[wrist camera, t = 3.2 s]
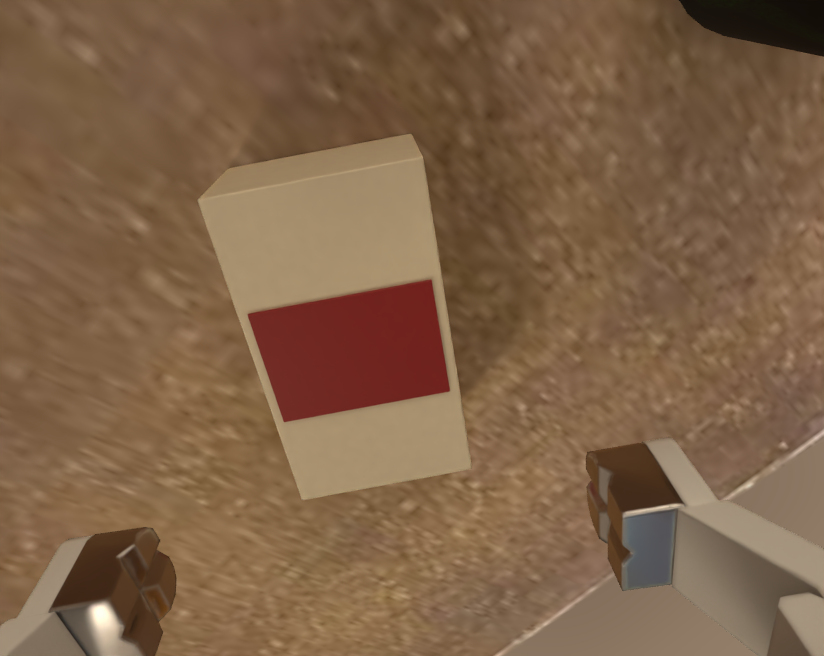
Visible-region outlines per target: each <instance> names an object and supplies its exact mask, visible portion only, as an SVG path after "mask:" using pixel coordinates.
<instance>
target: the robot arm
mask: <svg viewBox="0 0 824 656" xmlns="http://www.w3.org/2000/svg"><path fill="white" fill-rule="evenodd" d="M586 470H587V472H588V474H589V476H590V478H591V481H590V483H589V484H588V485H587V501H588V506H589V511H590V516H591V519H592V522H593V525H594V528H595V530H596V533H597V535H598V537H599V539H601V540H602V541H604V542H605V543H607V544H608V560H609V562H610V565H611V567H612V569H613V571H614V573H615V576H616V578H617V580H618V582H619V585H620V587H621V589H622V591H626V590H633V589H640V588H648V587H655V586H663V585H670V584H672V587H673V588H674V589H676V590H677V591H678V592H679V593H680V594H682V595H683V596H684V597H685V598H687V599H688V600H689V601H690V602H692V603H693V604H694V605H695V606H697V607H698V608H699V609H700V610H702V611H703V612H704V613H705V614H707V615H708V616H709V617H711V618H712V619H713V620H714V621H715V622H717V623H718V624H719V625H720V626H722V627H723V628H724V629H725V630H727V631H728V632H729V633H730V634H731V635H733V636H734V637H735V638H736V639H738V640H739V641H740V642H741V643H743V644H744V645H745V646H746V647H748V648H749V649H750V650H751V651H753V652H754V653H755V654H756V655H758V656H824V548H822V547H820V546H818V545H816V544H814V543H812V542H810V541H808V540H806V539H804V538H802V537H800V536H798V535H796V534H794V533H792V532H791V531H788V530H787V529H784V528H782V527H781V526H779V525H777V524H775V523H773V522H771V521H769V520H767V519H765V518H763V517H761V516H759V515H757V514H755V513H753V512H751V511H749V510H747V509H745V508H743V507H741V506H739V505H737V504H735V503H733V502H732V501H730V500H723V501H719V500H718V498H717V497H716V496H715V494H714V493H713V492H712V490H711V489H710V488H709V486H708V485H707V483H706V482H705V481H704V479H703V478H702V477H701V475H700V474H699V473H698V471H697V470H696V468H695V467H694V466H693V464H692V463H691V462H690V460H689V459H688V458H687V456H686V455H685V453H684V452H683V451H682V449H681V448H680V447H679V445H678V444H677V443H676V441H675V440H674V439H672V438H670V437H666V438H660V439H655V440H650V441H644V442H642V443H635V444H629V445H623V446H618V447H612V448H607V449H601V450H595V451H590V452H587V455H586ZM159 542H160V539H159V538H158V536H157V534H156V533H155V531H154V529H153V528H148V527H143V528H136V529H129V530H122V531H115V532H108V533H101V534H95V535H92V536H85V537H78V538H70V539H68V540H66V541H65V542H64V543H62V544H61V545H60V546H59V548H58V550H57V551H56V553H55V555H54V556H53V558H52V560H51V561H50V563H49V565H48V566H47V568H46V570H45V571H44V573H43V575H42V576H41V578H40V580H39V581H38V583H37V585H36V586H35V588H34V590H33V591H32V593H31V595H30V596H29V598H28V600H27V601H26V603H25V605H24V606H23V608H22V610H21V611H20V613H19V615H18V616H17V618H14V619H9V620H7V621H6V622H4V623H3V624H2V625H1V626H0V656H155V654H156V651H157V649H158V646H159V643H160V640H161V637H162V634H163V631H162V628H161V626H160V624H159V621H160V620H161V619H162V618H163V617H164V616H165V615H166V614H167V613H168V612H169V611H170V610H171V608H172V604H173V601H174V598H175V595H176V574H175V569H174V566H173V564H172V562H171V560H170V558H169V557H168V556H167V555H165V554H163V553H161V552H159V551H158V550H157V547H158V545H159Z"/></svg>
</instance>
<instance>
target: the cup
mask: <svg viewBox="0 0 824 656" xmlns="http://www.w3.org/2000/svg"><path fill="white" fill-rule="evenodd" d="M679 1H680V2H681V4H682V5H683V7H684V9H685V10H686V12H687V13H688V14H689V15H690V16H691V17H692V18H693V19H695V20H696V21H697V22H698V23H699V24H701V25H702V26H703V27H704V28H706V29H709V30H711V31H713V32H716V33H718V34H721V35H723V36H727V37H732V38H737V39H742V40H747V41H751V42H756V43H761V44H766V45H771V46H776V47H780V48H785V49H790V50H795V51H800V52H805V53H809V54H814V55H819V56H824V0H679Z"/></svg>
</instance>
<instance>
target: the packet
mask: <svg viewBox="0 0 824 656" xmlns="http://www.w3.org/2000/svg"><path fill="white" fill-rule="evenodd" d="M198 203H199V206H200V209H201V212H202V215H203V218H204V220H205V223H206V226H207V229H208V232H209V235H210V238H211V241H212V243H213V246H214V249H215V252H216V255H217V258H218V261H219V263H220V266H221V269H222V272H223V275H224V278H225V281H226V284H227V286H228V289H229V292H230V295H231V298H232V301H233V304H234V306H235V309H236V312H237V315H238V318H239V321H240V324H241V327H242V329H243V332H244V335H245V338H246V341H247V344H248V347H249V349H250V352H251V355H252V358H253V361H254V364H255V367H256V369H257V372H258V375H259V378H260V381H261V384H262V387H263V390H264V392H265V395H266V398H267V401H268V404H269V407H270V410H271V412H272V415H273V418H274V421H275V424H276V427H277V430H278V433H279V435H280V438H281V441H282V444H283V447H284V450H285V453H286V455H287V458H288V461H289V464H290V467H291V470H292V473H293V476H294V478H295V481H296V484H297V487H298V490H299V493H300V496H301V498H302V500H307V499H312V498H318V497H323V496H329V495H334V494H340V493H345V492H350V491H356V490H361V489H367V488H372V487H377V486H383V485H388V484H394V483H399V482H405V481H410V480H415V479H421V478H426V477H432V476H437V475H442V474H448V473H453V472H459V471H464V470H469V469H472V463H471V457H470V451H469V444H468V438H467V432H466V425H465V419H464V412H463V406H462V400H461V393H460V387H459V381H458V374H457V368H456V362H455V355H454V349H453V342H452V336H451V330H450V323H449V317H448V311H447V304H446V298H445V291H444V285H443V279H442V272H441V266H440V260H439V253H438V247H437V241H436V234H435V228H434V221H433V215H432V209H431V202H430V196H429V190H428V183H427V177H426V171H425V164H424V158H423V156H422V154H421V152H420V150H419V148H418V146H417V144H416V142H415V140H414V137H413V135H412V134H406V135H401V136H395V137H390V138H385V139H380V140H374V141H369V142H364V143H359V144H353V145H348V146H343V147H338V148H332V149H327V150H322V151H317V152H311V153H306V154H301V155H296V156H290V157H285V158H280V159H275V160H269V161H264V162H259V163H254V164H248V165H243V166H238V167H233V168H228V169H227V170H226V171H225V172H224V173H223V174H222V175H221V176H220V177H219V178H218V179H217V180H216V181H215V182H214V183H213V184H212V185H211V186H210V188H209V189H208V190H207V191H206V192H205V193H204V194H203V195H202V196H201V197H200V198H199V199H198Z"/></svg>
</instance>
